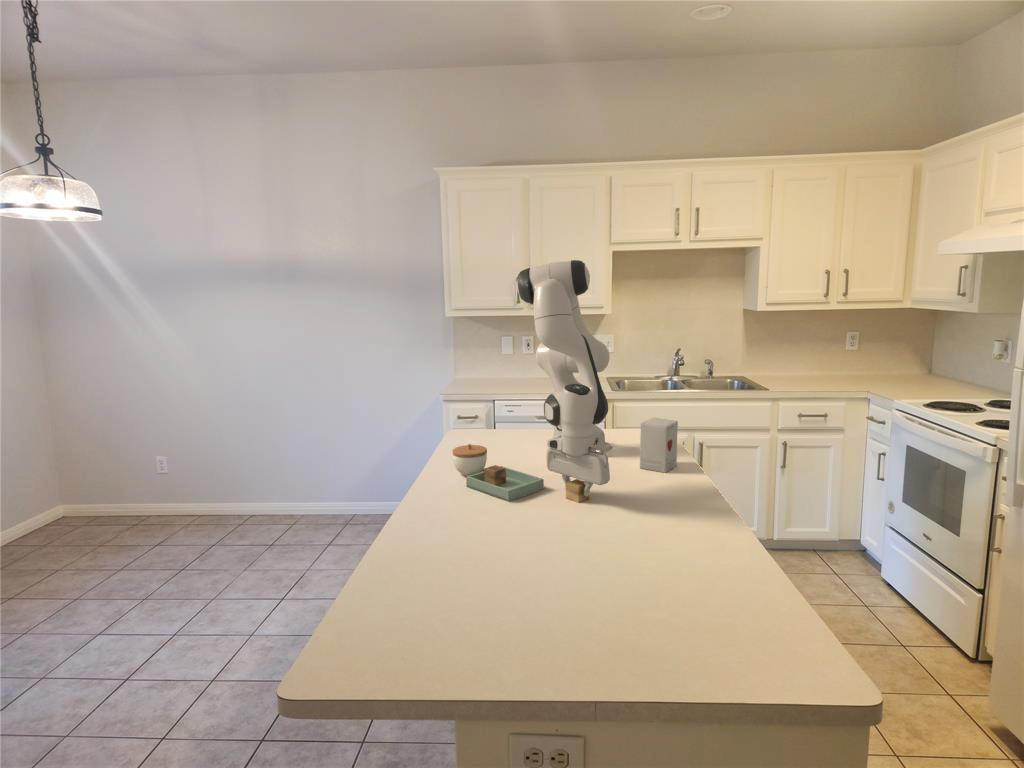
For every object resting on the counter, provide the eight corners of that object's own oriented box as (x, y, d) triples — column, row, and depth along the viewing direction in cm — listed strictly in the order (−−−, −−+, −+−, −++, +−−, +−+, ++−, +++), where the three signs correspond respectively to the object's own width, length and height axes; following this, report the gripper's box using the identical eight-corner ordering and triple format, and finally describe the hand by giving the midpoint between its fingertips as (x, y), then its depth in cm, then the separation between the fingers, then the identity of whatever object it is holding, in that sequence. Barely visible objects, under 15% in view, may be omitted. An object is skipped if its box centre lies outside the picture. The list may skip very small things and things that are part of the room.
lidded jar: (489, 468, 208) (489, 440, 207) (484, 479, 198) (484, 449, 196) (456, 467, 209) (455, 439, 208) (450, 478, 199) (449, 449, 197)
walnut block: (495, 479, 195) (495, 465, 194) (506, 482, 192) (505, 468, 191) (484, 483, 192) (484, 468, 191) (494, 486, 189) (494, 471, 188)
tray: (501, 475, 200) (501, 466, 200) (543, 489, 188) (543, 479, 187) (466, 486, 191) (466, 476, 190) (508, 501, 178) (508, 491, 178)
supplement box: (665, 473, 200) (666, 426, 197) (638, 468, 205) (639, 422, 202) (677, 466, 207) (678, 420, 204) (651, 461, 212) (652, 416, 210)
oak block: (576, 494, 183) (576, 479, 182) (589, 498, 180) (589, 482, 179) (566, 498, 180) (565, 482, 179) (578, 502, 177) (578, 486, 176)
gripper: (615, 449, 172) (614, 498, 174) (558, 435, 186) (558, 481, 189) (599, 454, 167) (599, 505, 170) (542, 439, 182) (543, 487, 184)
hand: (577, 492), depth 179 cm, fingers closed on oak block, 4 cm apart
